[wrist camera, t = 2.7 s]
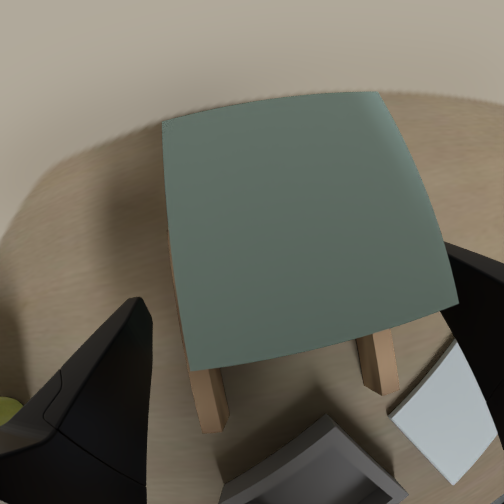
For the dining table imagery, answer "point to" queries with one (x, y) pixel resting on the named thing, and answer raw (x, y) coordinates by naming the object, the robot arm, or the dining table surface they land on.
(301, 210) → the block
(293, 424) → the dining table surface
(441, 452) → the pad
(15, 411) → the plant pot
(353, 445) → the box
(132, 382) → the robot arm
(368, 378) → the walled lane
